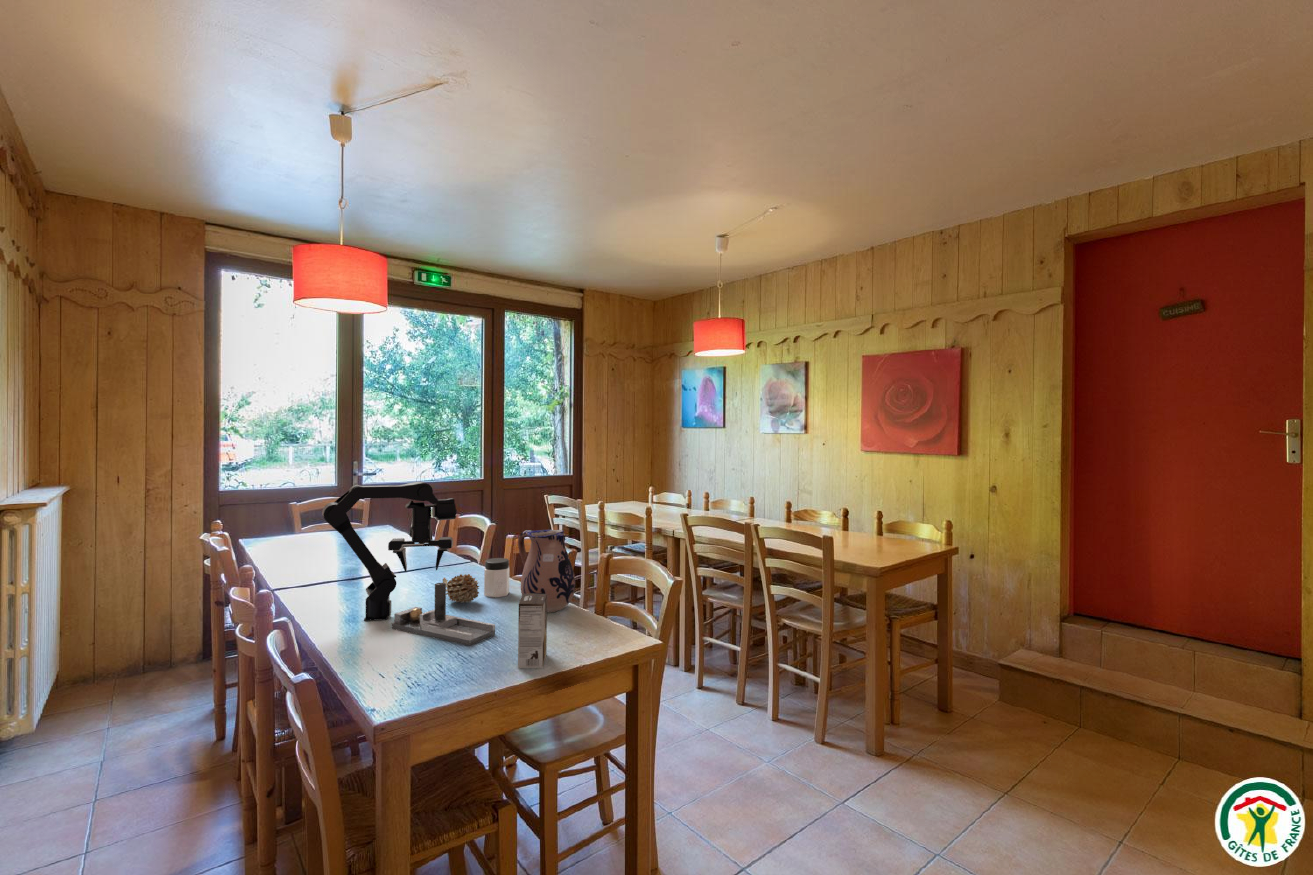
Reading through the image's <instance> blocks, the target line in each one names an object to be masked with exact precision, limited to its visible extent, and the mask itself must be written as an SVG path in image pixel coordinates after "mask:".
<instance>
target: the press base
mask: <svg viewBox="0 0 1313 875" xmlns="http://www.w3.org/2000/svg"><path fill="white" fill-rule="evenodd" d="M422 613H423V607H419V606H415V607H412V608H409V609H408V608H407V609H405V610H403V611H399V612H396V613H394V614H393V617H394V622H391V624H390V625H391V628H392V630H396V629H397V631H401V632H405V633H409V632H410V633H409V634H414V635H419V636H423V637H428V638H432V639H435V640H441V641H444V642H445V641H446V642H450V643H452V644H453V643H454V644H457V645H458V644H459V645H463V646H467V647H471V646H473V645H475V644H478V643H480V642H482V641H485V640H487V639H490V638H492V637H494V636H495V635H496V624H494V623H489V622H485V621H479V620H474V619H470V618H464V617H459V616H456V617H457V624H455V625H453V626H450V627H447V628H442V627H438V626H433V625H428V624H422V625H421V627H420V614H422ZM391 628H390V629H391Z"/></svg>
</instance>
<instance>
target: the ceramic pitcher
mask: <svg viewBox="0 0 1313 875" xmlns="http://www.w3.org/2000/svg"><path fill="white" fill-rule="evenodd" d="M564 532H565V531H564V530H562V529H540V530H539V529H538V530H527V529H526V530H524V531H522V532H521V533H520V535H519V536H518V538H517V546H518V547H517V548H518V554H519V555H520V559H521V562H522V564H523V570H522V573H521V578H520V592H521V595H522V594H527V593H535V594H547V613H554V612H558V611H562V610H563V609H565V607H567V606H569V604H570V602H571V601H572V600H573V597H574V594H575V590H576V576H575V572H574V569H573V566H572V562H571V559H570V556H569V553H568V550H567V547H566V544H565V541H566V538H567V535H566V534H565V533H564ZM526 537H528V538H529V539H530V547H529V550H528V553H527V552H526V551H527V550H526V546H525V538H526Z"/></svg>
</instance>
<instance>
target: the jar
mask: <svg viewBox="0 0 1313 875" xmlns="http://www.w3.org/2000/svg"><path fill="white" fill-rule="evenodd" d="M484 566H485V567H484V571H483V572H484V573H483V574H484V578H483V579H484V585H483V586H484V588H483V589H484V590H483V596H484V597H490V598H494V597H495V598H502V597H506V596H508V595H509V593H510V560H509V558H504V557H494V558H487V559H486V560H485V561H484Z"/></svg>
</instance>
